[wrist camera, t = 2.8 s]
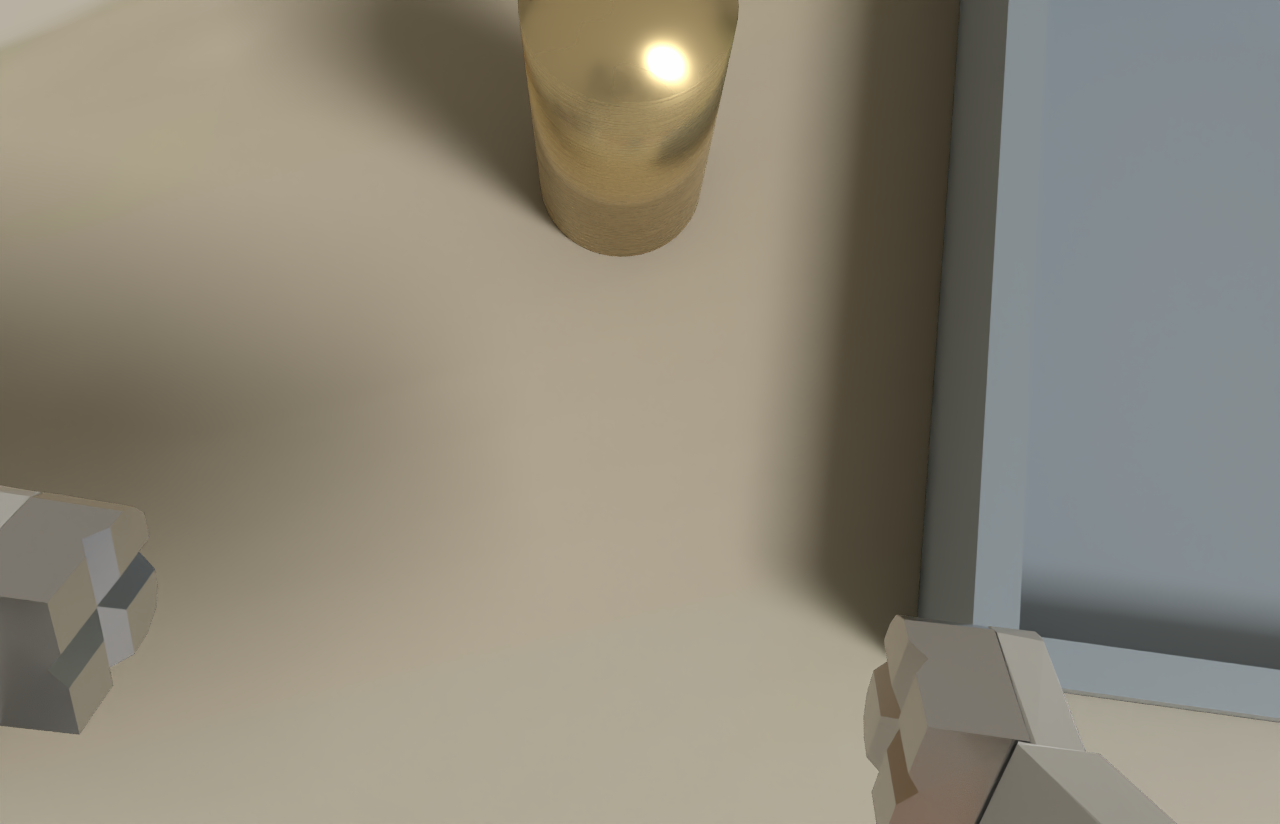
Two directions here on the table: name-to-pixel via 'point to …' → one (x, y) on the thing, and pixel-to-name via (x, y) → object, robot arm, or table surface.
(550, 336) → the table surface
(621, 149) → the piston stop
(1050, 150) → the tray
